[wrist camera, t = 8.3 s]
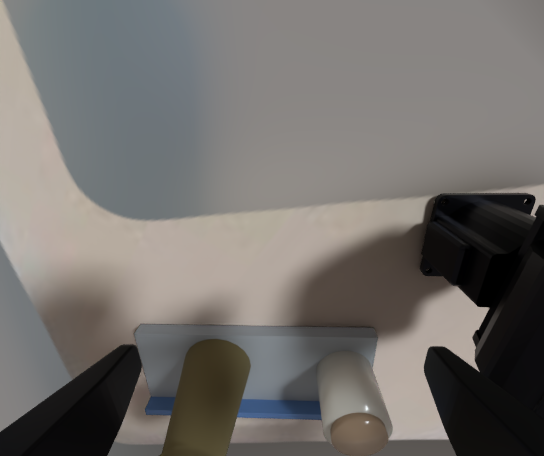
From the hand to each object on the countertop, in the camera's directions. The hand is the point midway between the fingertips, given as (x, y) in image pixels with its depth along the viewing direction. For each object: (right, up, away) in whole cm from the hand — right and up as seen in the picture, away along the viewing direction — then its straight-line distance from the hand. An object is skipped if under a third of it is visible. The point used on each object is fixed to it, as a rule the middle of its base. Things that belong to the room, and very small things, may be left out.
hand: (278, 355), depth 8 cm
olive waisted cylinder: (-5, -8, +17) cm, 19 cm away
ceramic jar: (+6, -9, +16) cm, 20 cm away
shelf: (-2, -9, +18) cm, 20 cm away
